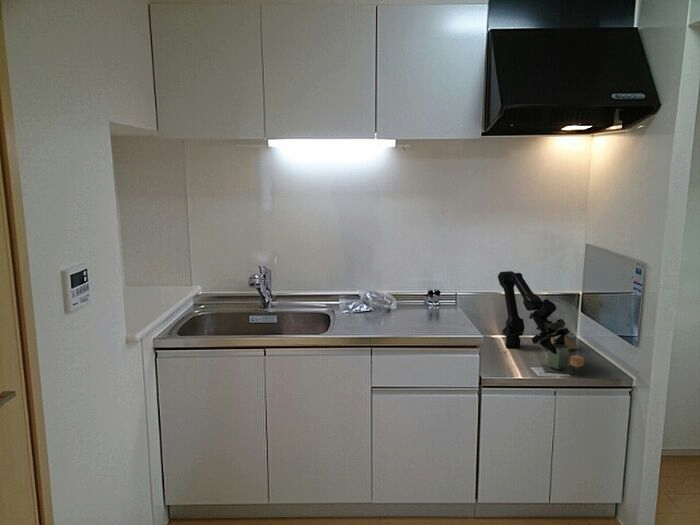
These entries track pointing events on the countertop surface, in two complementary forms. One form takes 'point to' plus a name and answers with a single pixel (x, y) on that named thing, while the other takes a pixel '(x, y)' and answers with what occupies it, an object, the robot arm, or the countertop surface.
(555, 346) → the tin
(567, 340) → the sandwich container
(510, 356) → the countertop surface
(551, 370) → the mat
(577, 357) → the block
